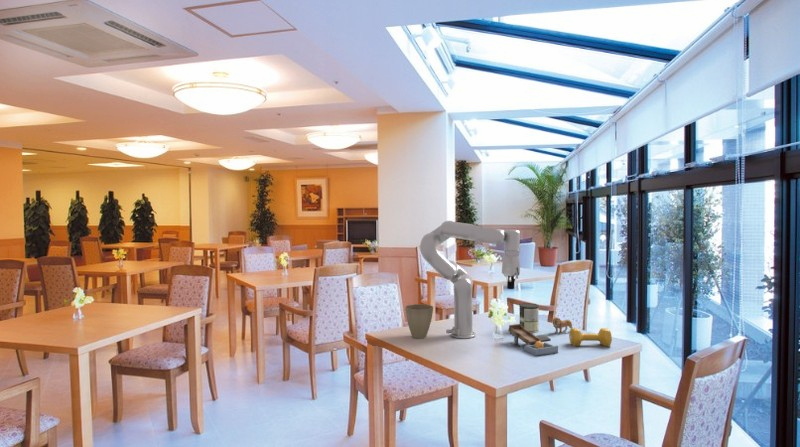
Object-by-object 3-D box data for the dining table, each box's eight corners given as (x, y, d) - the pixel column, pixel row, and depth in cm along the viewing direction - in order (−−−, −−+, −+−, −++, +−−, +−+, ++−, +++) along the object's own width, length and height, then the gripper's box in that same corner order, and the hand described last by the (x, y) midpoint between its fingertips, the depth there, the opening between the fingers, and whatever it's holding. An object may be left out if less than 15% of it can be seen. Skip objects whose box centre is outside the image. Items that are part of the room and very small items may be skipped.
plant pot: (412, 342, 241) (412, 310, 241) (400, 335, 255) (400, 305, 255) (438, 338, 247) (438, 308, 247) (425, 332, 261) (425, 303, 261)
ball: (532, 341, 225) (533, 350, 225) (537, 341, 222) (539, 350, 221) (539, 340, 227) (540, 349, 226) (544, 340, 223) (545, 349, 222)
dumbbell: (606, 342, 237) (606, 326, 236) (613, 348, 228) (613, 331, 227) (567, 342, 238) (567, 326, 238) (573, 347, 229) (572, 330, 229)
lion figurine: (557, 335, 251) (557, 318, 251) (549, 333, 255) (549, 316, 255) (576, 331, 258) (576, 315, 258) (568, 329, 263) (568, 313, 263)
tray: (524, 350, 225) (524, 343, 225) (544, 347, 229) (544, 340, 229) (537, 356, 216) (537, 349, 216) (558, 352, 220) (558, 346, 220)
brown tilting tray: (508, 333, 240) (509, 325, 239) (530, 330, 246) (531, 322, 245) (526, 347, 227) (527, 338, 226) (550, 343, 232) (551, 335, 231)
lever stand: (511, 345, 234) (511, 333, 234) (530, 342, 239) (530, 331, 239) (516, 347, 230) (516, 335, 230) (535, 344, 235) (535, 333, 235)
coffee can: (515, 330, 262) (515, 305, 262) (525, 327, 269) (525, 302, 269) (532, 334, 255) (532, 307, 254) (542, 330, 262) (542, 304, 261)
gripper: (497, 252, 252) (496, 286, 252) (514, 255, 238) (512, 291, 238) (509, 252, 255) (508, 286, 255) (526, 254, 241) (525, 291, 241)
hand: (510, 288), depth 247 cm, fingers closed
